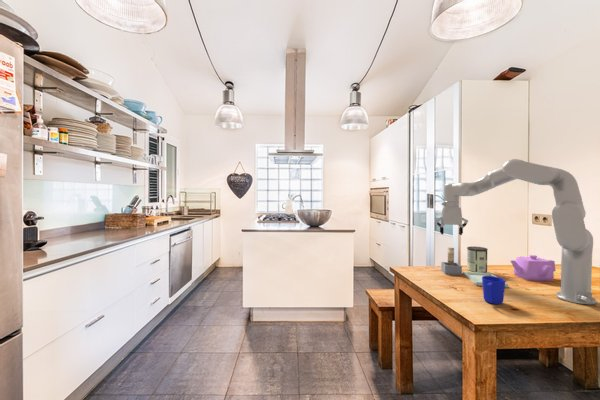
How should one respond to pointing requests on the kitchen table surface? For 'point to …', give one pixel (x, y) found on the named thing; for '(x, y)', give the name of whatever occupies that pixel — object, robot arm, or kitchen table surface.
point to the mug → (493, 289)
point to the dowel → (451, 256)
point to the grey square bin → (451, 268)
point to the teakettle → (534, 268)
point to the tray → (479, 277)
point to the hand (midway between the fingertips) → (451, 234)
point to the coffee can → (477, 259)
